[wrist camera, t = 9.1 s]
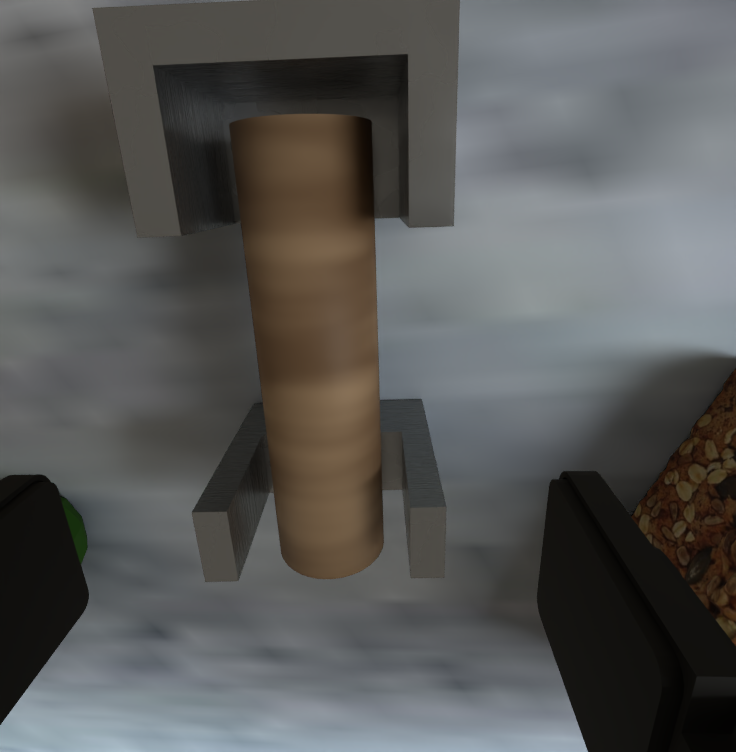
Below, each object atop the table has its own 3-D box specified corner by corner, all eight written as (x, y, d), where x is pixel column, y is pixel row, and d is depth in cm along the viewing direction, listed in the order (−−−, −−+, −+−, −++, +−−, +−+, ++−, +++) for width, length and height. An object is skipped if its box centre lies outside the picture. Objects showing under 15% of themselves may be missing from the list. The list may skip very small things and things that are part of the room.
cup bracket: (423, 77, 20) (459, -10, 11) (422, 212, 21) (454, 225, 13) (212, 86, 20) (92, 8, 11) (229, 219, 22) (137, 237, 13)
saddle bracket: (421, 399, 25) (446, 507, 16) (421, 451, 26) (444, 577, 17) (253, 403, 25) (191, 512, 16) (260, 454, 26) (205, 581, 17)
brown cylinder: (255, 135, 17) (204, 118, 13) (377, 129, 17) (363, 109, 13) (294, 508, 23) (267, 576, 19) (386, 511, 23) (379, 581, 19)
